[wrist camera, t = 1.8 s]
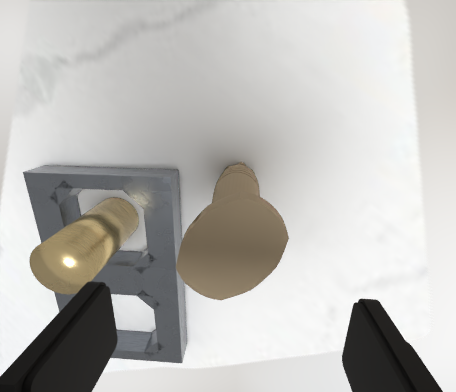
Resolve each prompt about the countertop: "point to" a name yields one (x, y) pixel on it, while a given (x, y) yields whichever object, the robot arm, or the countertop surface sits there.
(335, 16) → the countertop surface
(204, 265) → the handle
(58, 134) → the countertop surface
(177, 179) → the bolt plate
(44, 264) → the brass pin
